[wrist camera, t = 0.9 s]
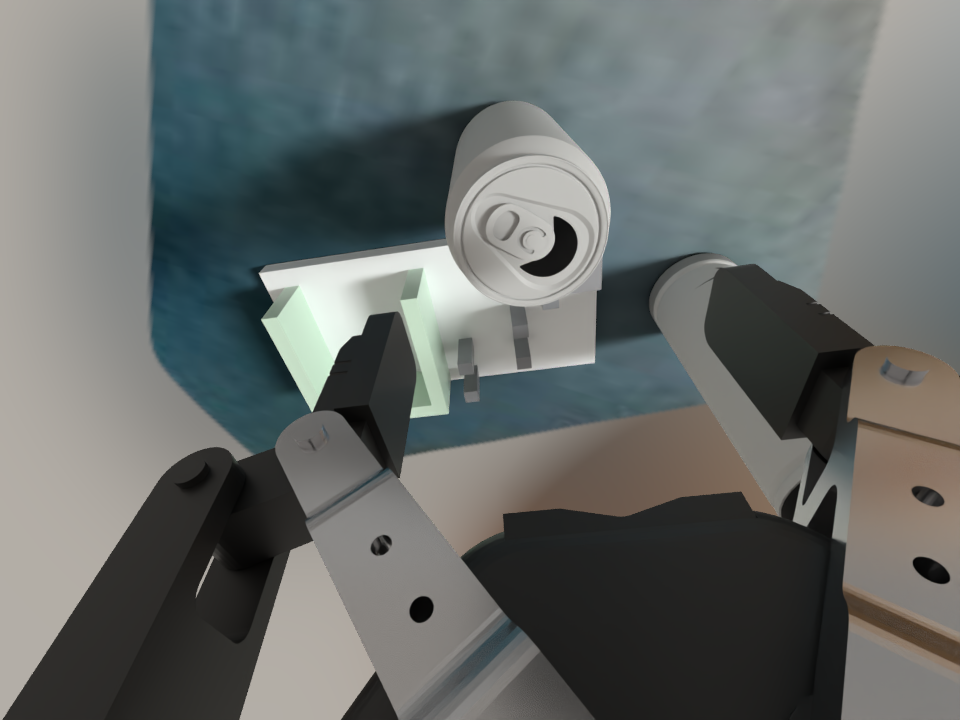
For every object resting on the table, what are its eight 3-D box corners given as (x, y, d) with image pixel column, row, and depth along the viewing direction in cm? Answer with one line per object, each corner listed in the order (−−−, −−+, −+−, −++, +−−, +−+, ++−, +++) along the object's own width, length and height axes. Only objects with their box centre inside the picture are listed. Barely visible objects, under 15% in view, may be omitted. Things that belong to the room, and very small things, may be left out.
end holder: (285, 287, 28) (261, 319, 25) (423, 267, 27) (417, 298, 24) (335, 391, 34) (321, 428, 31) (451, 377, 33) (448, 413, 30)
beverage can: (524, 234, 27) (551, 340, 18) (436, 182, 25) (413, 271, 16) (586, 139, 24) (660, 208, 14) (490, 71, 22) (502, 99, 12)
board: (265, 265, 28) (238, 295, 25) (594, 216, 27) (611, 242, 23) (325, 385, 35) (310, 422, 32) (591, 353, 33) (604, 388, 30)
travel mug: (701, 230, 27) (1016, 498, 11) (756, 285, 30) (1075, 568, 14) (626, 297, 30) (794, 584, 14) (681, 342, 33) (875, 628, 17)
